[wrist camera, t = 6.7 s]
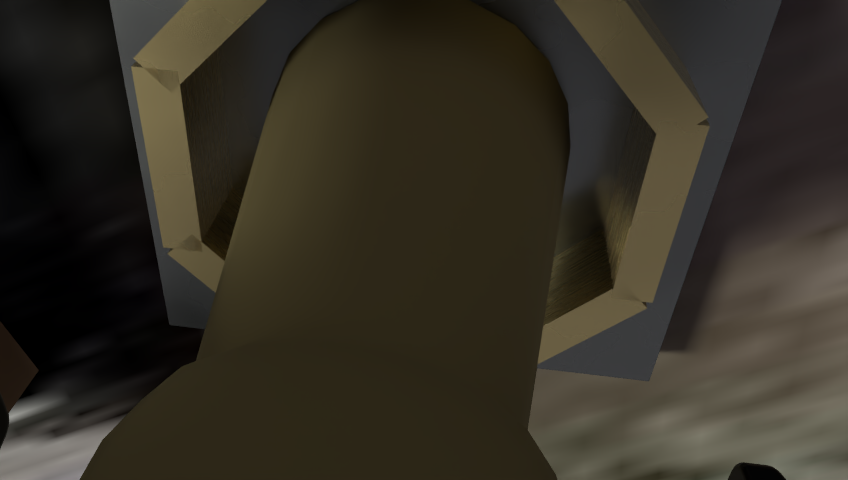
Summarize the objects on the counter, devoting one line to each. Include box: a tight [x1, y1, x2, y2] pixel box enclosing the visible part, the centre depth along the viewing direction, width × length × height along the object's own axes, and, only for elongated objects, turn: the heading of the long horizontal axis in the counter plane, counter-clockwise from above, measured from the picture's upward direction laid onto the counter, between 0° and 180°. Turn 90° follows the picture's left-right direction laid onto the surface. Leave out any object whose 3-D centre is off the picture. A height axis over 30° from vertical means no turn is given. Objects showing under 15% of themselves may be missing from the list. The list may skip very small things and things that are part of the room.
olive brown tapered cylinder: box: [80, 0, 571, 480], centre depth 11 cm, size 6×6×11 cm
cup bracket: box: [110, 0, 782, 381], centre depth 15 cm, size 12×12×3 cm
